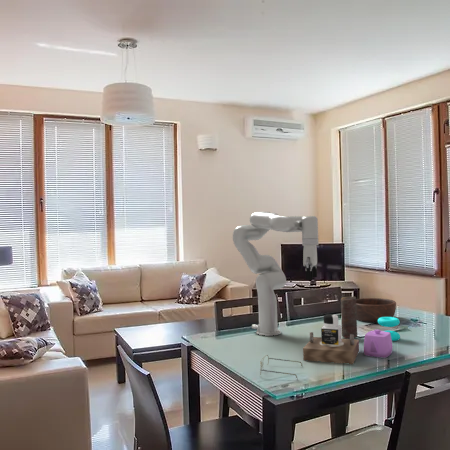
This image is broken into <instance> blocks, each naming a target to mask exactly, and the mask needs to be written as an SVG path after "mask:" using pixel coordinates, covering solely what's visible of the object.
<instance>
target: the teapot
mask: <svg viewBox="0 0 450 450" xmlns="http://www.w3.org/2000/svg"><path fill="white" fill-rule="evenodd" d="M385 331H386V330H381V329H377V328H376V329H374V330H370V331H368V332H366V333H365V335H364V339H363V355H364V356H366V355H367V357H373V356H374V357H373V358H381V357H382V358H383V359H386V358H388V357H390V355H391V354H392V353H393V341H392V339H391V334H390V332H385ZM382 358H381V359H382Z"/></svg>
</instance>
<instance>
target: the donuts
mask: <svg viewBox="0 0 450 450" xmlns="http://www.w3.org/2000/svg"><path fill="white" fill-rule="evenodd" d="M377 324H378V325H380V326H381V327H385V328H394V327H397V326H399V325H400V324H401V322H400V319H399V318H397V317H395V316H394V317H380V318H379V319H378V322H377ZM384 331H385V332H390V334H391V339H392V342H396V341H399V340H400V339H401V335H400V333H399V332H398V331H394V330H390V329H389V330H384Z"/></svg>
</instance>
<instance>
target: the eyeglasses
mask: <svg viewBox="0 0 450 450" xmlns="http://www.w3.org/2000/svg"><path fill="white" fill-rule="evenodd" d="M266 356H267V361H268V362H267V364H269V361H270V360H276V361H277V360H278V361H282V362H283V361H284V362H285V361H286V362H293V363H300V364H301V365H300V367H301V366H302V367H303V363H302V362H301V361H297V360H290V359H280V358H273V357H269V354H266V355H265V357H266ZM265 357H262V358H261V360H260V369H259V370H260V371H259V372H260V375H261V376H262V372H267V373H268V372H270V373H276V374H285V375H291V376H292V375H293V376H295V379H296V378H297V379H298V375H297V374H296V373H290V372H280V371H275V370H274V371H272V370H266V369H263V367H264V362H263V361H262V360H264V359H265ZM260 375H259V376H260Z"/></svg>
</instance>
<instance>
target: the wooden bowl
mask: <svg viewBox="0 0 450 450" xmlns="http://www.w3.org/2000/svg"><path fill="white" fill-rule="evenodd" d="M396 307H397V302H396V301H395V300H392V299H388V298H378V297H377V298H375V297H368V298H362V297H361V298H356V314H357V321H361V322H363V323H364V322H365V323H366V322H367V323H378V319H379V318H380V317H395V315H396V309H397V308H396Z"/></svg>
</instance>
